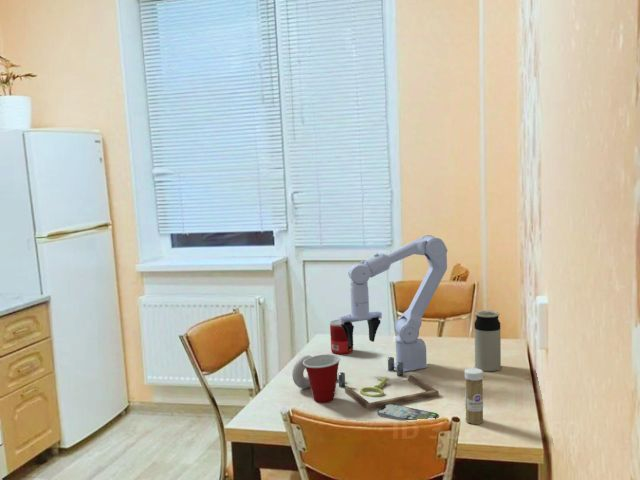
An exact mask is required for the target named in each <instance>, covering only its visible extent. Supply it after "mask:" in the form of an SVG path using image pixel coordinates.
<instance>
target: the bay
mask: <svg viewBox="0 0 640 480" xmlns="http://www.w3.org/2000/svg"><path fill="white" fill-rule="evenodd" d="M407 376H408V377H407V381H408V382H410V383H411V384H413V385H415V386H417V387H418V388H420V389H422V390H423V392H417V393H412V394H407V395H402V396H397V397H393V398H392V397H391V398H388V399H382V400H377V401H373V402H369V401H368V400H367V399H366V398H364V396H361V394H359V393H357V392H356V391H355V390H353V389H352V388H351V387H350V386H345V387H344V393H345V394H346V395H348V397H350V398H352V399H353V400H354V401H355V402H357V404H359V405H360V406H361V407H363V408H364V409H365V410H366V411H371V410H378V409H381V408H382V407H383V406H385V405H386V404H394V405H401V404H406V403H410V402H411V403H412V402H416V401H422V400H426V399H432V398H435V397H439V391H438V389H436V388H434V387H433V386H431V385H429V384H427V383H425V382H424V381H422V380H421V379H419V378H418V377H415V376H413V375H412V374H411V375H407Z"/></svg>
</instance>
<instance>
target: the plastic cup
mask: <svg viewBox="0 0 640 480" xmlns="http://www.w3.org/2000/svg"><path fill="white" fill-rule="evenodd" d="M340 361H341V357H340V355H338V354H333V353H332V354H330V353H329V354H328V353H327V354H324V353H323V354H318V355H316V354H315V355H313V356H312V357H309V358H307V359H305V360H304V361H303V364H304V366H305V367H306V368H305V371H306V373H307V374H308V377H309V381H310V390H311V393H312V398H313V399H314V402H315V403H321V404H325V403H326V404H327V403H332V401H334V400H335V395H336V387H337V381H338V380H337V377H338V370H339V363H340Z"/></svg>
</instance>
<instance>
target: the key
mask: <svg viewBox="0 0 640 480" xmlns="http://www.w3.org/2000/svg"><path fill="white" fill-rule="evenodd" d="M388 381H389V378H388V377H385V378H383V377H380V378H379V379H378V384H376V385H374V386H365V387H362V388H360V390H359V393H360V394H359V395H362V396H363V397H364V396H365V397H370V398H381V397H384V394H385V392H384V390H382V389H381V388H382V387H383V386H384V385H385V384H386V383H388ZM366 392H376V393H377V394H373V393H372V394H369V393H366Z"/></svg>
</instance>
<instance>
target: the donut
mask: <svg viewBox="0 0 640 480" xmlns="http://www.w3.org/2000/svg"><path fill="white" fill-rule="evenodd" d="M309 357H313V356H311V355H310V354H309V355H303V356H301V357H299V358H298V359H297V360H296V362H295V363H294V364H293V368H292V375H291V376H292V380H293V382H294V385H295V386H297V387H298V388H300V389H308V388H311V386H310V381H309V377H308V373H307V374H306V375H304V373H305V372H304V371H306V367H305V366H304V364H303V361H304V360H305V359H307V358H309Z"/></svg>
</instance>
